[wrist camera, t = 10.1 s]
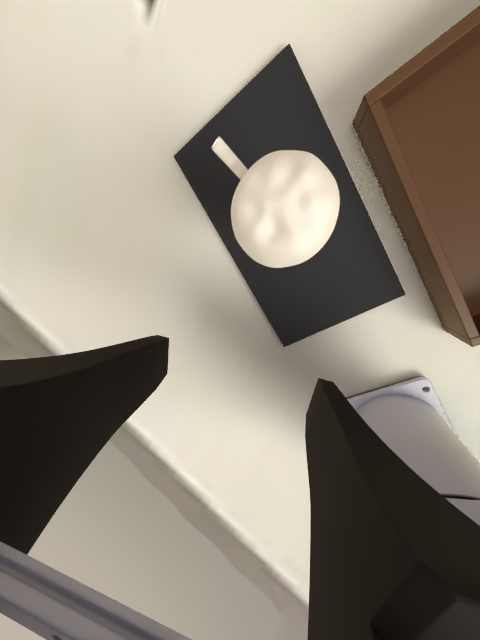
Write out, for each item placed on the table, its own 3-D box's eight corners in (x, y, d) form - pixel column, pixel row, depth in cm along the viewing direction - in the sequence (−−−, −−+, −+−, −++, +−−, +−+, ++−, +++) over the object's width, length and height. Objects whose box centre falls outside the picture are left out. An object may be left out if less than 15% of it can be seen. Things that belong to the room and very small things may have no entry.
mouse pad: (403, 293, 17) (405, 294, 17) (284, 345, 21) (284, 347, 20) (289, 48, 14) (289, 42, 14) (176, 157, 18) (173, 156, 17)
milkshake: (283, 170, 16) (261, 68, 7) (334, 224, 16) (381, 198, 7) (240, 221, 18) (178, 197, 9) (287, 270, 18) (276, 296, 9)
